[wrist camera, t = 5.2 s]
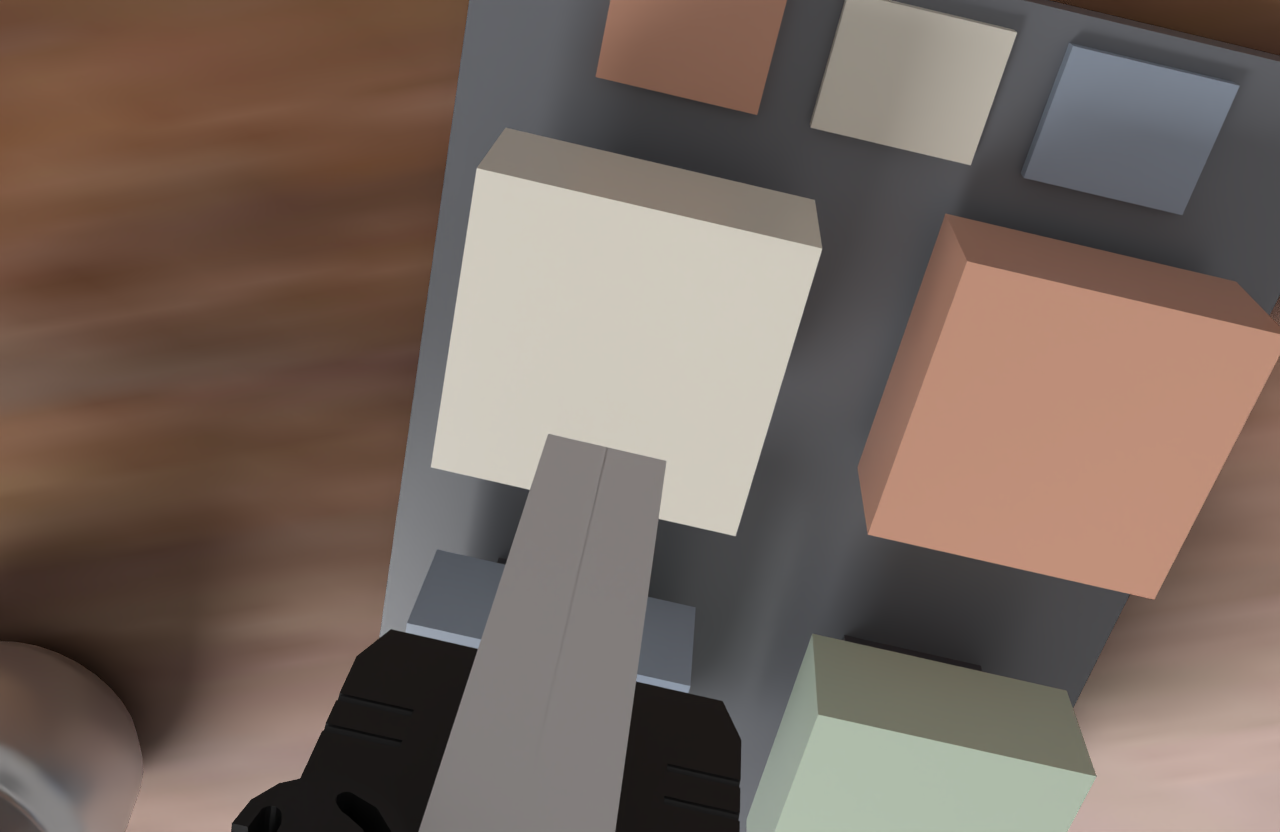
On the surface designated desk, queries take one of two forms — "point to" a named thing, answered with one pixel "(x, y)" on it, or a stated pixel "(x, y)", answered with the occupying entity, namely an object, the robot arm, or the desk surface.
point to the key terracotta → (1061, 406)
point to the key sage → (919, 749)
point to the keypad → (855, 276)
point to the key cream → (623, 319)
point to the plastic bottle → (63, 746)
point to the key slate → (467, 591)
